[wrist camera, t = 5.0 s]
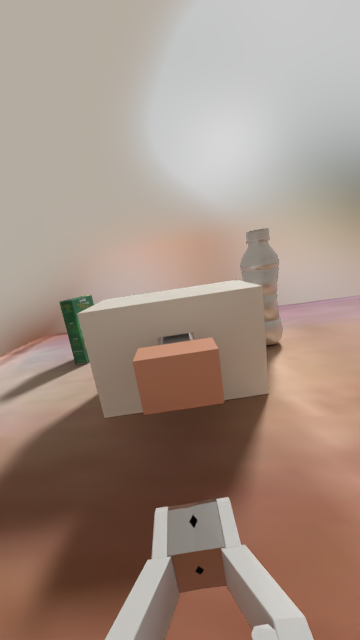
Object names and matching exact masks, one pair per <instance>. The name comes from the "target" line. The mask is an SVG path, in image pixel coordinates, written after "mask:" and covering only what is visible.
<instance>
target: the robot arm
mask: <svg viewBox="0 0 360 640" xmlns="http://www.w3.org/2000/svg"><path fill="white" fill-rule="evenodd" d="M220 586H227V588H228V590H229V592H230V593H231V595H232V597H233V598H234V600H235V602H236V603H237V605H238V607H239V608H240V610H241V612H242V613H243V615H244V617H245V618H246V620H247V622H248V623H249V625H250V627H251V628H252V630H253V631H252V640H314V639H313V637H312V634H311V632H310V629H309V626H308V624H307V621H306V618H305V616H304V615H303V614H302V613H301V612H300V610H299V609H298V608H297V607H296V606H295V604H294V603H293V602H292V601H291V600H290V598H289V597H288V596H287V595H286V594H285V592H284V591H283V590H282V589H281V588H280V586H279V585H278V584H277V583H276V582H275V580H274V579H273V578H272V577H271V576H270V574H269V573H268V572H267V571H266V570H265V568H264V567H263V566H262V565H261V564H260V562H259V561H258V560H257V559H256V558H255V556H254V555H253V554H252V553H251V552H250V550H249V549H248V548H247V547H246V546H245V545H241V543H240V539H239V535H238V531H237V527H236V523H235V519H234V515H233V511H232V507H231V503H230V500H229V498H228V497H225V498H219V499H210V500H205V501H199V502H193V503H190V504H183V505H175V506H167V507H160V508H156V510H155V515H154V529H153V543H152V558H151V559H150V560H147V562H146V564H145V566H144V567H143V569H142V571H141V573H140V575H139V577H138V579H137V581H136V582H135V584H134V586H133V588H132V590H131V592H130V594H129V596H128V597H127V599H126V601H125V603H124V605H123V607H122V609H121V611H120V612H119V614H118V616H117V618H116V620H115V622H114V624H113V625H112V627H111V629H110V631H109V633H108V635H107V637H106V639H105V640H165V638H166V635H167V632H168V629H169V626H170V623H171V620H172V617H173V614H174V611H175V608H176V605H177V602H178V599H179V596H180V594H179V593H182V592H187V591H192V590H197V589H203V588H211V587H220Z"/></svg>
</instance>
